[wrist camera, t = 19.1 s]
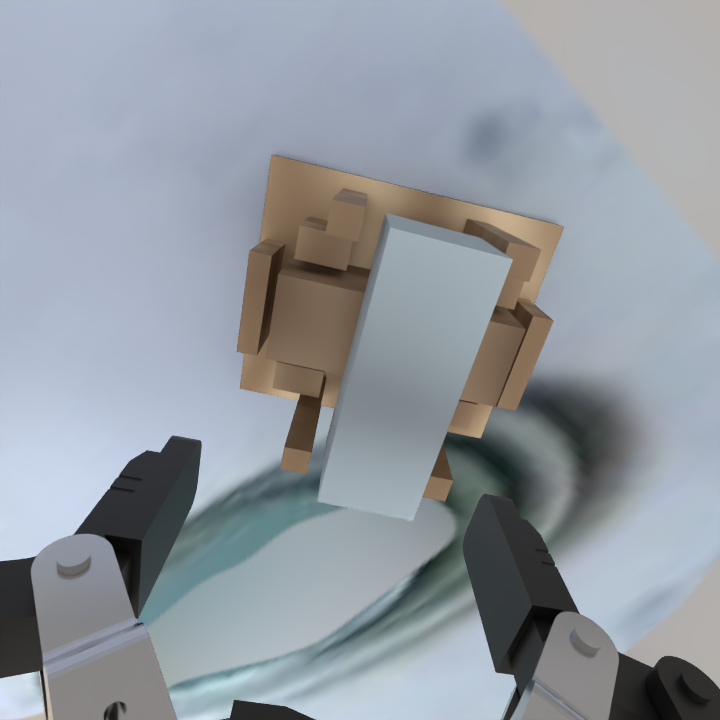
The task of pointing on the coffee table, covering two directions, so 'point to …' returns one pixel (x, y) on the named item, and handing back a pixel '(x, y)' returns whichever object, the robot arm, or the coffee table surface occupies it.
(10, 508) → the coffee table surface
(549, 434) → the coffee table surface
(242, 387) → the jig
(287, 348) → the tan wooden beam
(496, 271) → the gray rectangular block
